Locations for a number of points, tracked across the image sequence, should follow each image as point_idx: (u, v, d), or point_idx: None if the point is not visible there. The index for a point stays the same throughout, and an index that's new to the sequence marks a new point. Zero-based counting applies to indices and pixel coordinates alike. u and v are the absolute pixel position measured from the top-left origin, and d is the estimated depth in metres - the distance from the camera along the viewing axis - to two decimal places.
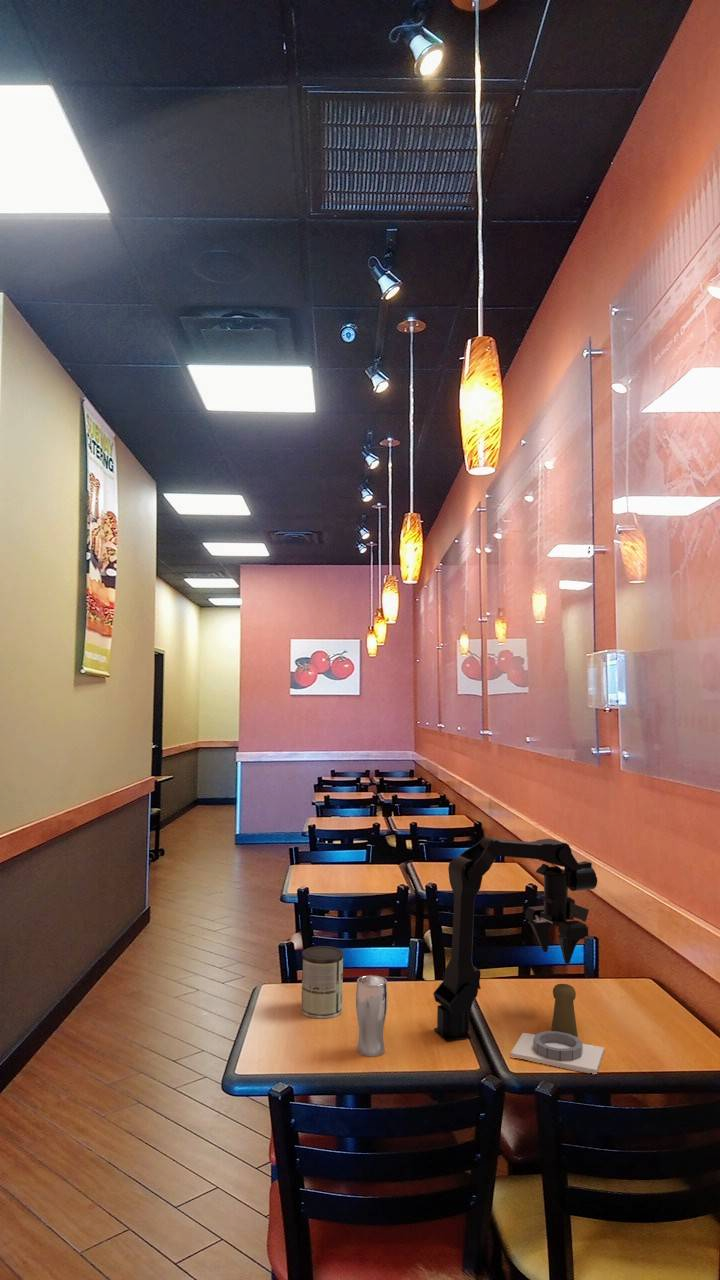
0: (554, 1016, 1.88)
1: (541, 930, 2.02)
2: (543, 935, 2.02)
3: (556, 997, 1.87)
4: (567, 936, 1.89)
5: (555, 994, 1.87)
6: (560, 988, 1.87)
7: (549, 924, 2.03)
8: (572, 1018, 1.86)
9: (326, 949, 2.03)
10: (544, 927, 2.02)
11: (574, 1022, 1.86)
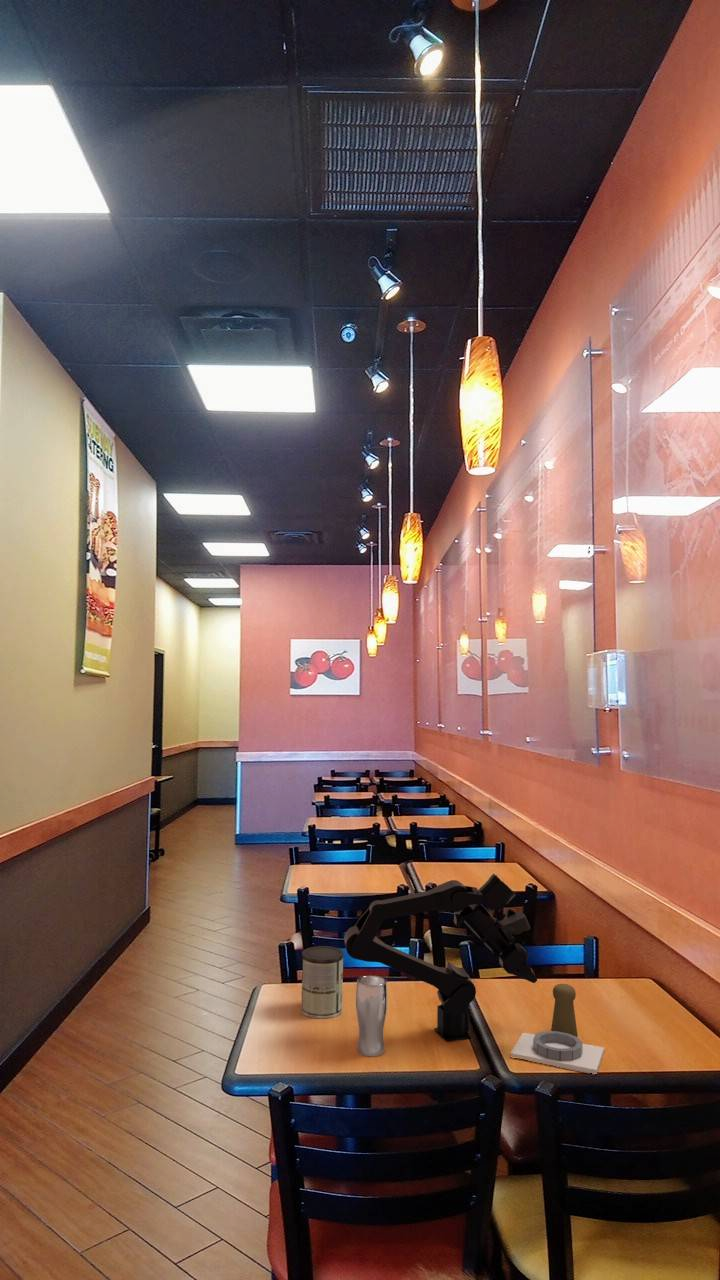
0: (554, 1016, 1.88)
1: None
2: None
3: (556, 997, 1.87)
4: (507, 972, 1.79)
5: (555, 994, 1.87)
6: (560, 988, 1.87)
7: (511, 943, 1.94)
8: (572, 1018, 1.86)
9: (326, 949, 2.03)
10: None
11: (574, 1022, 1.86)
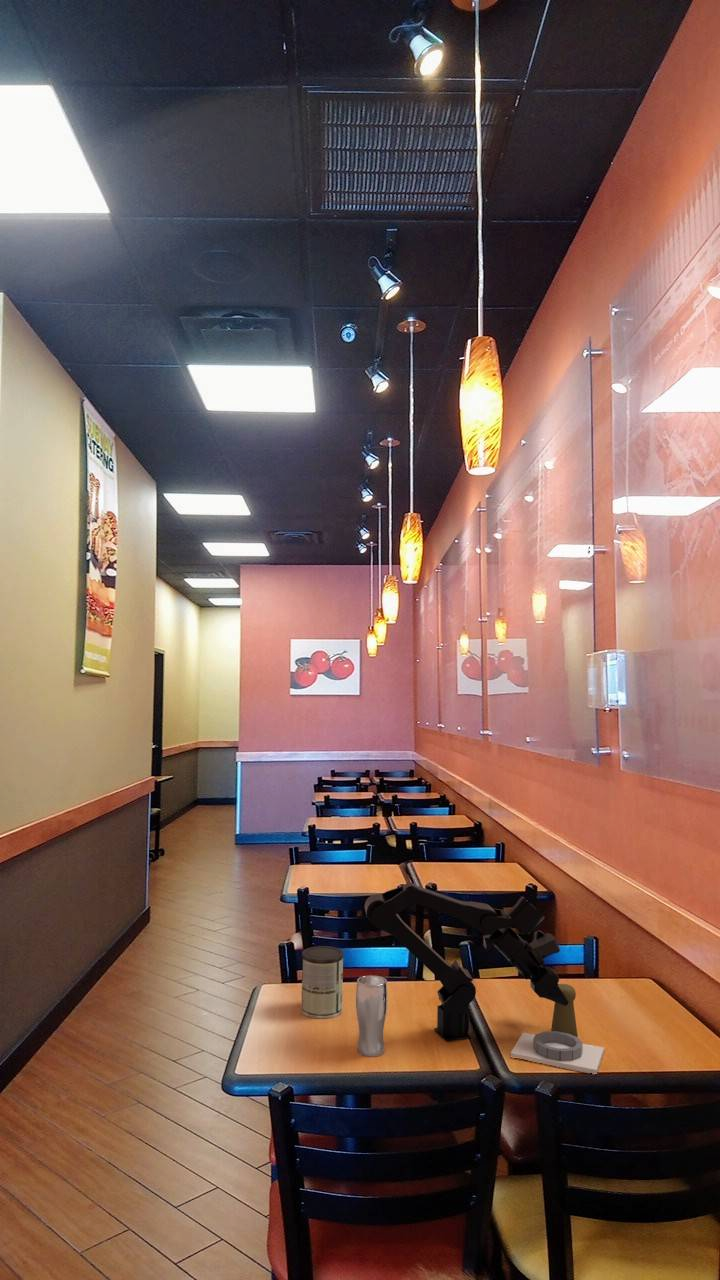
0: (554, 1016, 1.88)
1: None
2: None
3: None
4: (539, 996, 1.79)
5: None
6: (560, 988, 1.87)
7: (540, 964, 1.94)
8: (572, 1018, 1.86)
9: (326, 949, 2.03)
10: (537, 971, 1.93)
11: (574, 1022, 1.86)
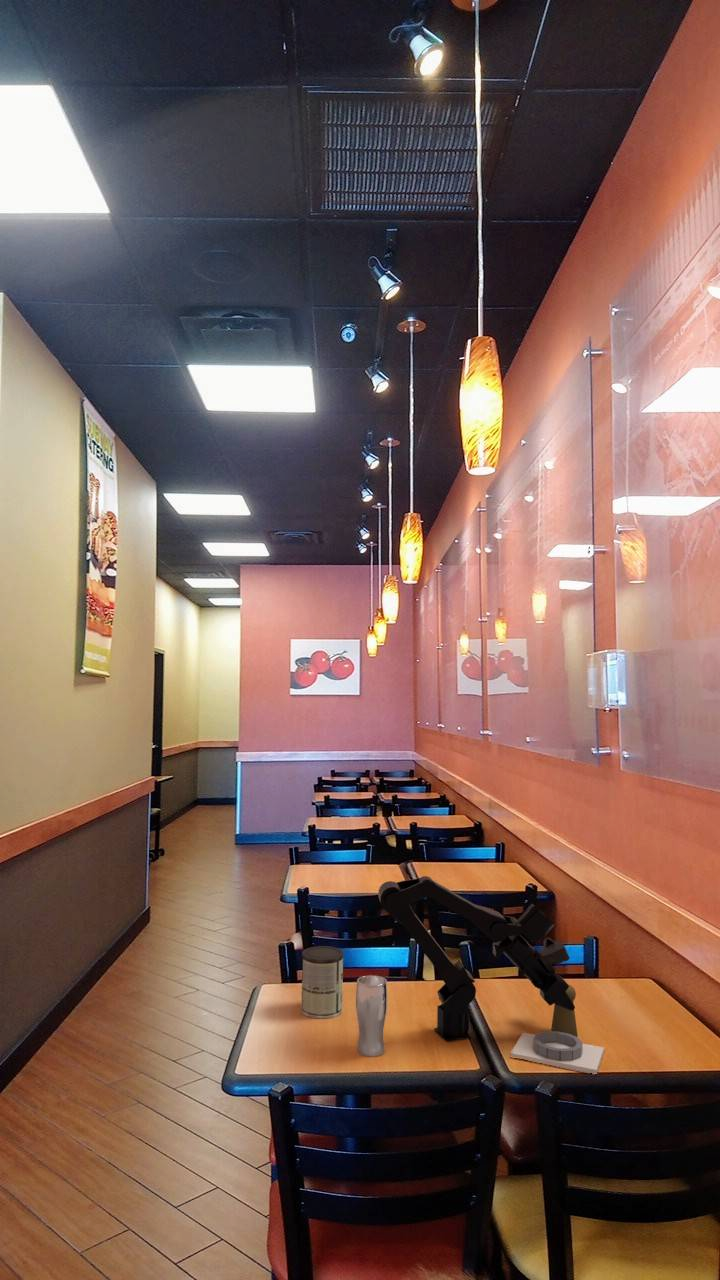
0: (554, 1016, 1.88)
1: None
2: None
3: None
4: (549, 1004, 1.79)
5: None
6: None
7: (551, 975, 1.92)
8: (572, 1018, 1.86)
9: (326, 949, 2.03)
10: None
11: (574, 1022, 1.86)
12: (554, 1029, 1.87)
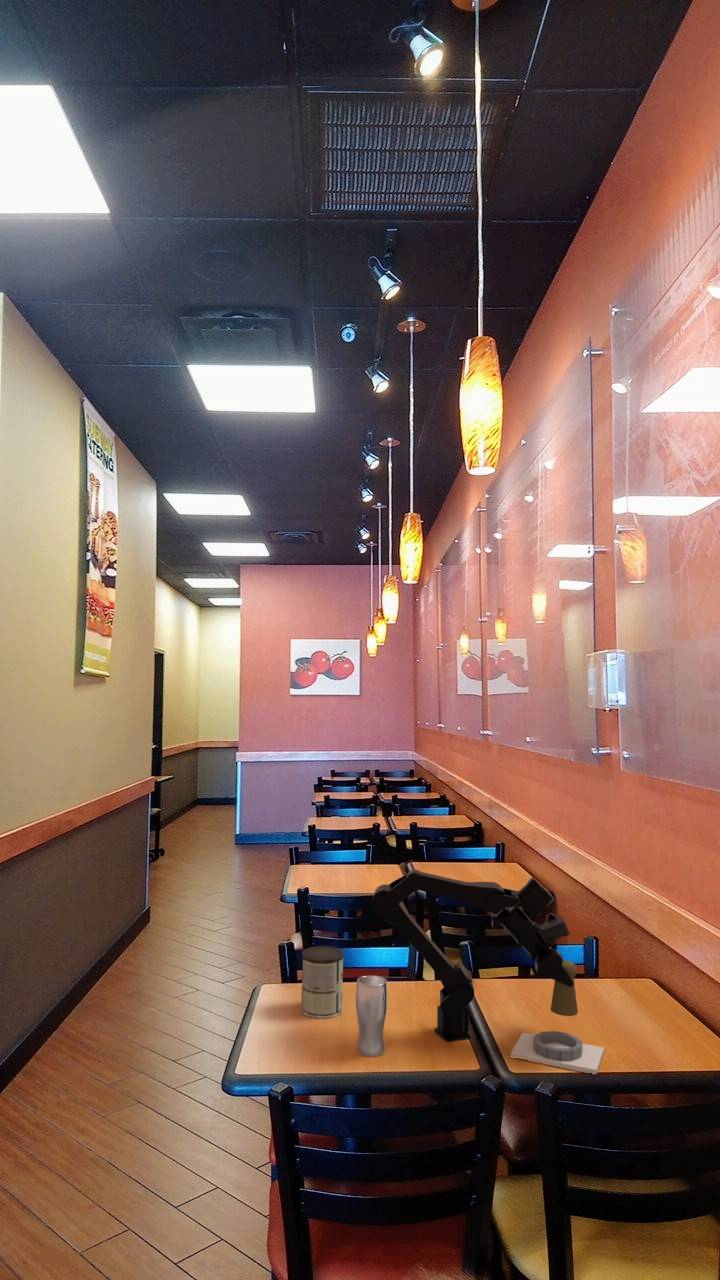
0: (553, 992, 1.85)
1: None
2: None
3: None
4: (542, 977, 1.77)
5: None
6: None
7: None
8: (572, 994, 1.83)
9: (326, 949, 2.03)
10: None
11: (573, 999, 1.83)
12: (553, 1005, 1.84)
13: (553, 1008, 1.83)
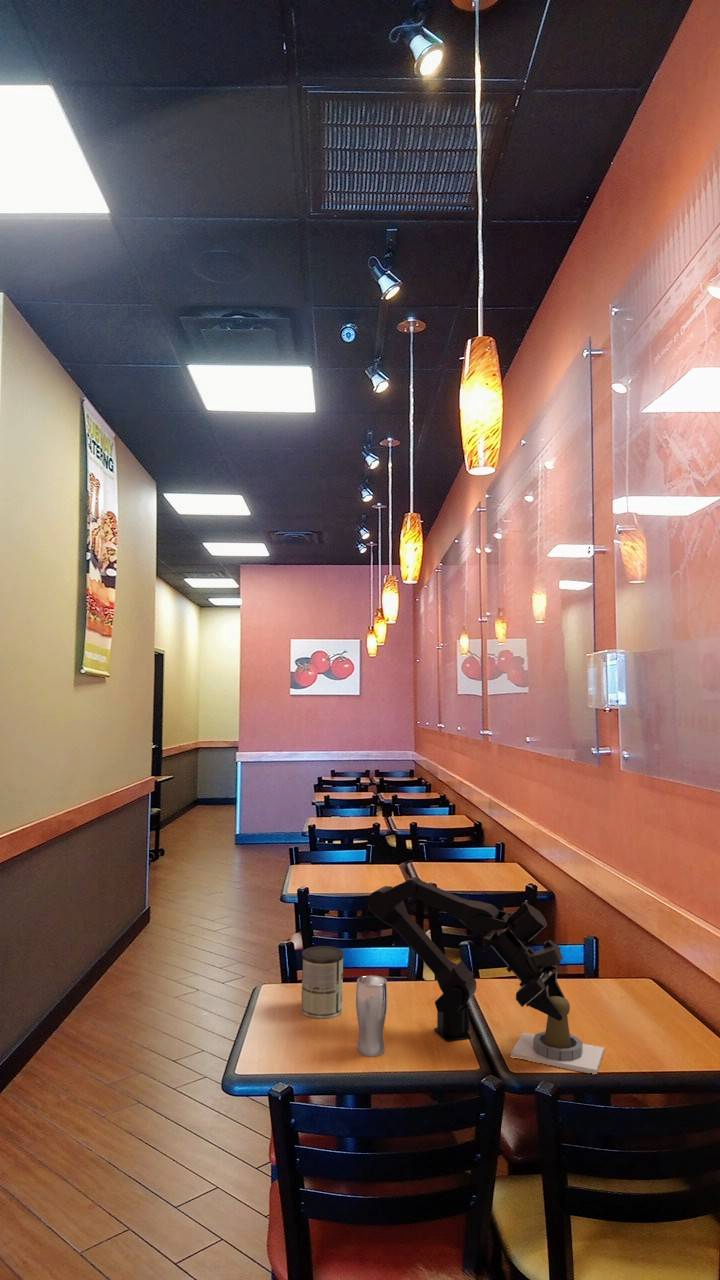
0: (546, 1029, 1.78)
1: (548, 989, 1.82)
2: (553, 993, 1.82)
3: None
4: (521, 1005, 1.72)
5: None
6: None
7: (552, 978, 1.82)
8: (562, 1033, 1.75)
9: (326, 949, 2.03)
10: (549, 984, 1.82)
11: (565, 1038, 1.75)
12: (544, 1042, 1.77)
13: None
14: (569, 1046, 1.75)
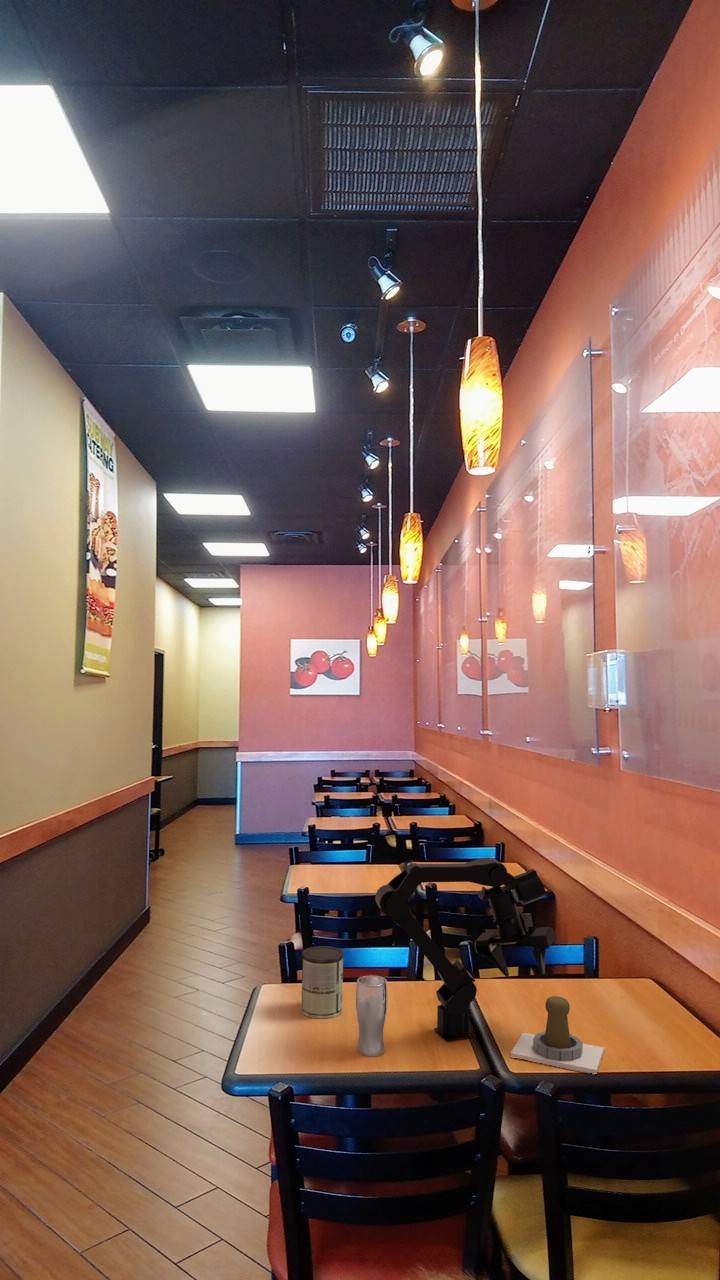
0: (546, 1029, 1.78)
1: (498, 956, 1.92)
2: (501, 960, 1.92)
3: (546, 1009, 1.77)
4: (546, 947, 1.83)
5: (545, 1005, 1.77)
6: (550, 1000, 1.77)
7: (500, 947, 1.94)
8: (562, 1033, 1.75)
9: (326, 949, 2.03)
10: (498, 952, 1.93)
11: (564, 1039, 1.75)
12: (544, 1042, 1.77)
13: None
14: (569, 1046, 1.75)
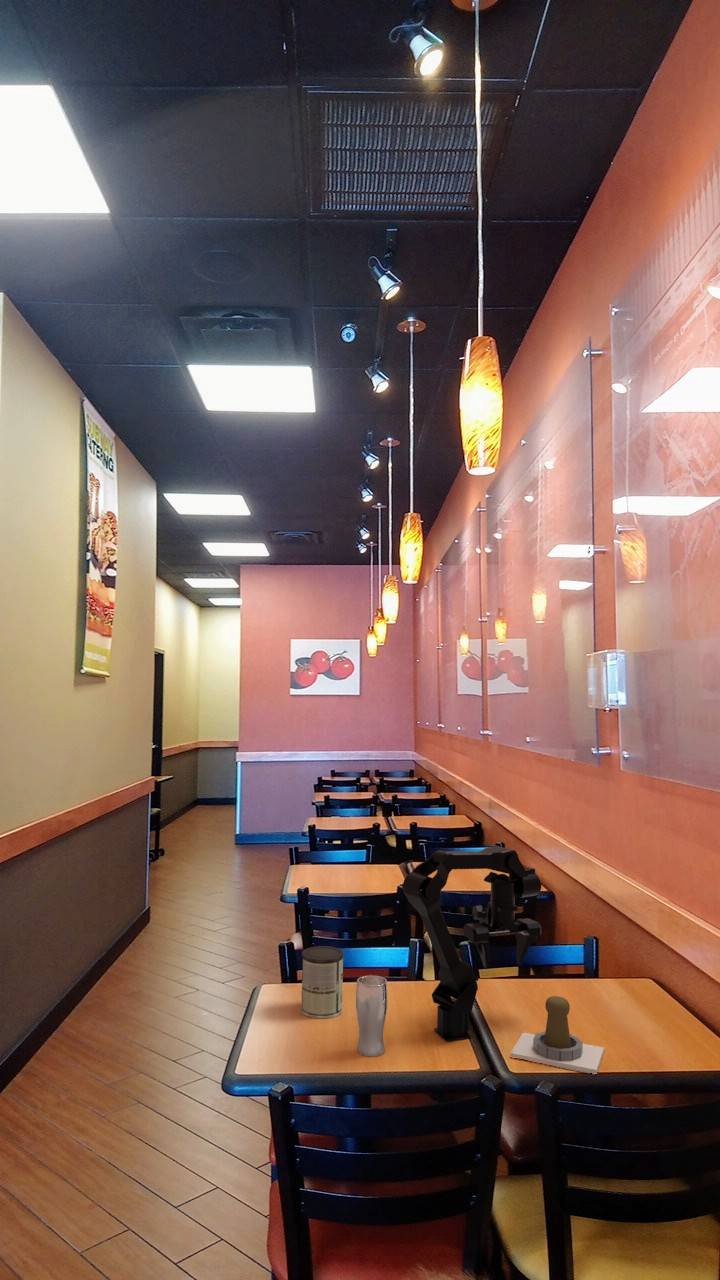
0: (546, 1029, 1.78)
1: None
2: None
3: (546, 1009, 1.77)
4: (540, 933, 1.96)
5: (545, 1005, 1.77)
6: (550, 1000, 1.77)
7: None
8: (562, 1033, 1.75)
9: (326, 949, 2.03)
10: None
11: (564, 1038, 1.75)
12: (544, 1042, 1.77)
13: None
14: (569, 1046, 1.75)
